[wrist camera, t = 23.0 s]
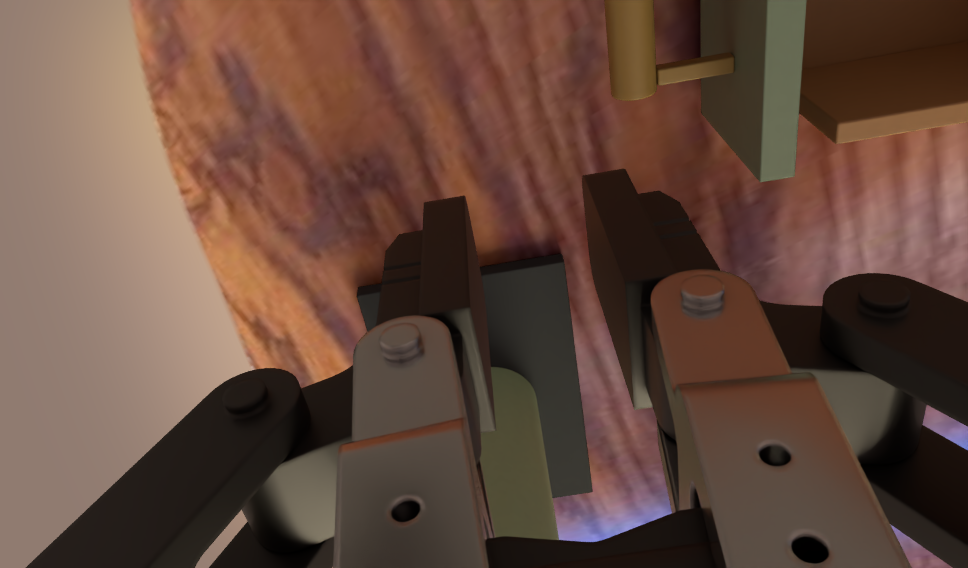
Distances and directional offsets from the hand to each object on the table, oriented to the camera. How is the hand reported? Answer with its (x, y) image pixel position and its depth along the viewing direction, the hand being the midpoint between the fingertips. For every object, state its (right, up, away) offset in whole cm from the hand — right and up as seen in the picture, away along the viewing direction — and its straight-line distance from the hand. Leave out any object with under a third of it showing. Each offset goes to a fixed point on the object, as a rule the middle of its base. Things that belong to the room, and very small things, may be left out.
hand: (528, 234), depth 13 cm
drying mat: (-1, -7, +27) cm, 28 cm away
